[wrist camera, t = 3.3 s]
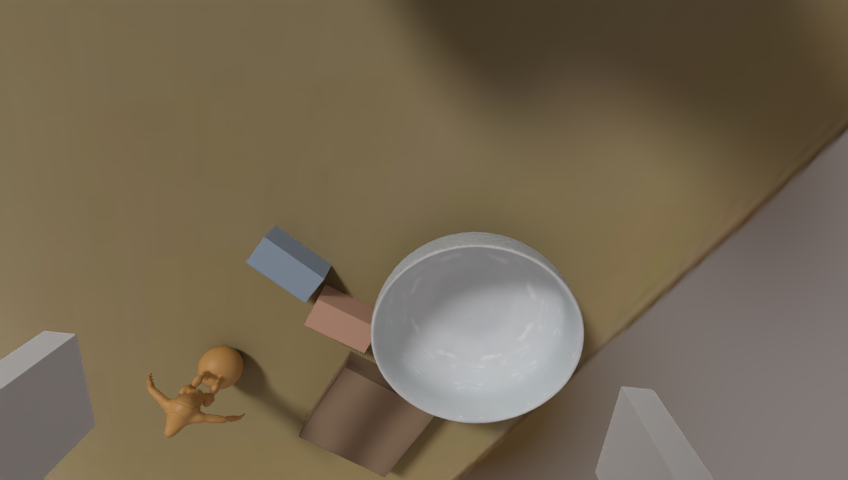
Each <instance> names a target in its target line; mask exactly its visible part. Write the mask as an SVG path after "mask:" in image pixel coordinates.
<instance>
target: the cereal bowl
mask: <svg viewBox="0 0 848 480" xmlns="http://www.w3.org/2000/svg"><path fill="white" fill-rule="evenodd" d="M583 343H584V324H583V318H582V314H581V310H580V308H579V305H578V302H577V300H576V298H575V296H574V294H573V292H572V290H571V289H570V287H569V285H568V284H567V282H566V280H565V279H564V277H563V276H562V275H561V273H560V272H559V271H558V270H557V268H555V266H554V265H553V264H552V263H551V262H549V261H548V259H546V258H545V257H544V256H543V255H541V254H540V253H539V252H537V251H536V250H534V249H533V248H531V247H530V246H528V245H525V244H524V243H522V242H520V241H517V240H514V239H513V238H509V237H506V236H502V235H497V234H493V233H492V234H491V233H487V232H484V233H483V232H467V233H464V232H462V233H459V234H453V235H448V236H444V237H441V238H438V239H436V240H434V241H430V242H429V243H426V244H425V245H423V246H421V247H419V248H418V249H416V250H415V251H414V252H412V253H411V254H409V255H408V256H407V257H405V258H404V259H403V260H402V261H401V262H400V263H399V264H398V266H397V267H395V269H394V270H393V272H392V273H391V274H390V276H389V277H388V279H387V280H386V282H385V283H384V285H383V287H382V290H381V291H380V294H379V296H378V298H377V301H376V304H375V307H374V311H373V313H372V322H371V345H372V351H373V354H374V358H375V361H376V363H377V366H378V368H379V370H380V372H381V373H382V375H383V377H384V378H385V380H386V381H387V382H388V383H389V385H390V386H391V387H392V388H393V389H394V390H395V391H396V392H397V393H398V394H399V395H400V396H401V397H402V398H404V399H405V400H406V401H408V402H409V403H410V404H412V405H413V406H415V407H417V408H419V409H421V410H423V411H425V412H427V413H429V414H431V415H434V416H437V417H440V418H443V419H447V420H451V421H457V422H463V423H490V422H497V421H503V420H507V419H511V418H514V417H517V416H520V415H522V414H525V413H527V412H529V411H531V410H533V409H535V408H537V407H539V406H540V405H542V404H543V403H545V402H546V401H548V400H549V399H550V398H552V397H553V396H554V395H555V394H556V393H557V392H559V391H560V390H561V389H562V388H563V386H564V385H565V384H566V383H567V382H568V380H569V379H570V377H571V376H572V374H573V372H574V371H575V369H576V367H577V364H578V362H579V360H580V357H581V353H582V349H583Z"/></svg>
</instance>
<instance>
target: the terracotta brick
mask: <svg viewBox="0 0 848 480" xmlns="http://www.w3.org/2000/svg"><path fill="white" fill-rule="evenodd" d="M373 311H374V308H373V307H371V306H369V305H367V304H365V303H362V302H360V301H358V300H356V299H354V298H352V297H350V296H348V295H346V294H344V293H342V292H340V291H338V290H336V289H334V288H332V287H330V286H328V285H326V284H325V286H324V288H323V290H322V291H321V293H320V295H319V297H318V299H317V301H316V303H315V305H314V307H313V308H312V310H311V312H310V314H309V316H308V318H307V320H306V322H305V324H304V325H305V326H307V327H310V328H312V329H314V330H316V331H318V332H320V333H322V334H324V335H326V336H329V337H331V338H333V339H335V340H337V341H339V342H341V343H343V344H345V345H348V346H350V347H352V348H354V349H356V350H358V351H360V352H362V353H365V351H366V350H367V348H368V346H369V345H370V343H371V322H372V313H373Z"/></svg>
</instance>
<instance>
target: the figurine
mask: <svg viewBox="0 0 848 480" xmlns="http://www.w3.org/2000/svg"><path fill="white" fill-rule="evenodd" d="M242 371H243V359H242V357H241V355H240V354H239V352H238V351H236V350H235V349H233V348H231V347H228V346H218V347H215V348H212V349H210V350H209V351H207V352H206V353H205V354H204V355H203V356H202V358H201V360H200V362H199V365H198V375H199V376H197V377H195V378H194V380H193V382H192V385H191V384H189V385H185V386H183V387H182V388H181V389H180V390H179V397H176V398H174V399H169V398H167V397H166V396H165V395H164V394H162V393H161V392H160V391H159V390H157V389H156V388H154V387H155V386H154V383H153V381H152V380H153V379H151V377H152V376H151V374H152V373H151V374H150V375H149V376H148V378H147V386H148V391H149V393H150V394H151V396H152V397H153V398H154V399H155V400H156V401H158V402H159V404H160V405H161V407H162V408H163V409H164V411H165V413H166V415H167V422H166V427H165V436H166V437H168V438H169V437H172V436H174V435H176V434H177V433H178V432H179V431H180V430H181V429H182V428H184V427H185V426H186V425H188V424H192V423H202V422H208V423H226V422H228V421H229V422H232V421H236V420H239V419H241V418H242V417H243V416H244V415H245V413H244V414H243V415H241V416H226V417H223V416H219V415H212V414H205V413H202V412H201V411H200V407H201V404H202V405H203V406H204V407H208V406H210V405H211V404H212V402H213V401H214V399H215V398H214V395H215V394H216V393H217V392H218V391H219V389H224V388H227V387H229V386H231V385H233V384H234V383H235V382H236V381H237V380H238V379H239V378H240V376H241V374H242ZM201 382H202V383H203V384H204V385H206V386H207V387H209V388H211V389H210V393H203V392H202V391H201V390H199V389H196V387H197V386H198V385H200V384H201Z"/></svg>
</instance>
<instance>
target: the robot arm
mask: <svg viewBox="0 0 848 480" xmlns="http://www.w3.org/2000/svg"><path fill="white" fill-rule="evenodd" d="M94 426H95V420H94V415H93V410H92V406H91V401H90V396H89V392H88V387H87V382H86V377H85V373H84V368H83V363H82V359H81V354H80V349H79V344H78V340H77V335H76V334H71V333H60V332H50V331H43V332H42V333H40V334H39V335H37V336H36V337H34V338H33V339H31V340H30V341H28V342H27V343H25V344H24V345H22V346H21V347H19V348H18V349H16V350H15V351H13V352H12V353H10V354H9V355H7V356H6V357H4V358H3V359H1V360H0V480H42V479H43V478H44V477H45V476H46V475H47V474H48V473H49V472H50V471H51V470H52V469H53V468H54V467H55V466H56V465H57V464H58V463H59V462H60V461H61V460H62V459H63V458H64V457H65V456H66V455H67V454H68V453H69V451H70V450H71V449H72V448H73V447H74V446H75V445H76V444H77V443H78V442H79V441H80V440H81V439H82V438H83V437H84V436H85V435H86V434H87V433H88V432H89V431H90V430H91V429H92V428H93V427H94ZM595 472H596V475H597V477H598V480H714V479H713V477H712V476H711V474H710V473H709V472H708V470H707V469H706V467H705V466H704V464H703V463H702V461H701V460H700V458H699V457H698V455H697V454H696V452H695V451H694V449H693V448H692V446H691V445H690V443H689V442H688V440H687V439H686V437H685V436H684V434H683V433H682V432H681V430H680V429H679V427H678V426H677V424H676V423H675V421H674V420H673V418H672V417H671V415H670V414H669V412H668V411H667V409H666V408H665V406H664V405H663V404H662V402H661V400H660V399H659V398H658V396H657V395H656V393H655V392H654V390H653V389H643V388H632V387H623V386H622V387H621V390H620V393H619V396H618V399H617V403H616V406H615V409H614V412H613V416H612V419H611V423H610V426H609V429H608V432H607V435H606V439H605V442H604V445H603V448H602V452H601V455H600V458H599V462H598V465H597V468H596V471H595Z"/></svg>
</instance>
